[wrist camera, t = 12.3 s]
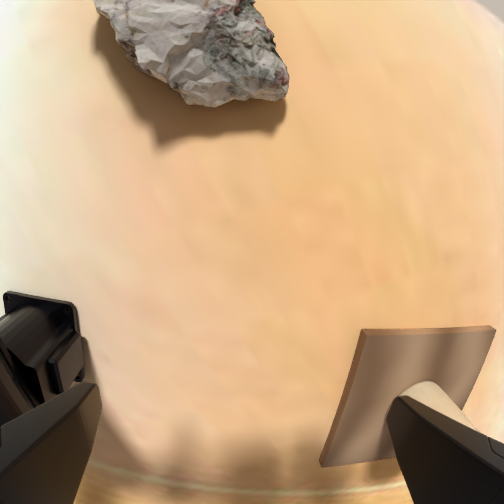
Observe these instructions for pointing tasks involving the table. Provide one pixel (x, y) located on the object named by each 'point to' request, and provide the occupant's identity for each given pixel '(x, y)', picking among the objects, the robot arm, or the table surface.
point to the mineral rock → (200, 47)
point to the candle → (436, 401)
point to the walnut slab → (399, 383)
